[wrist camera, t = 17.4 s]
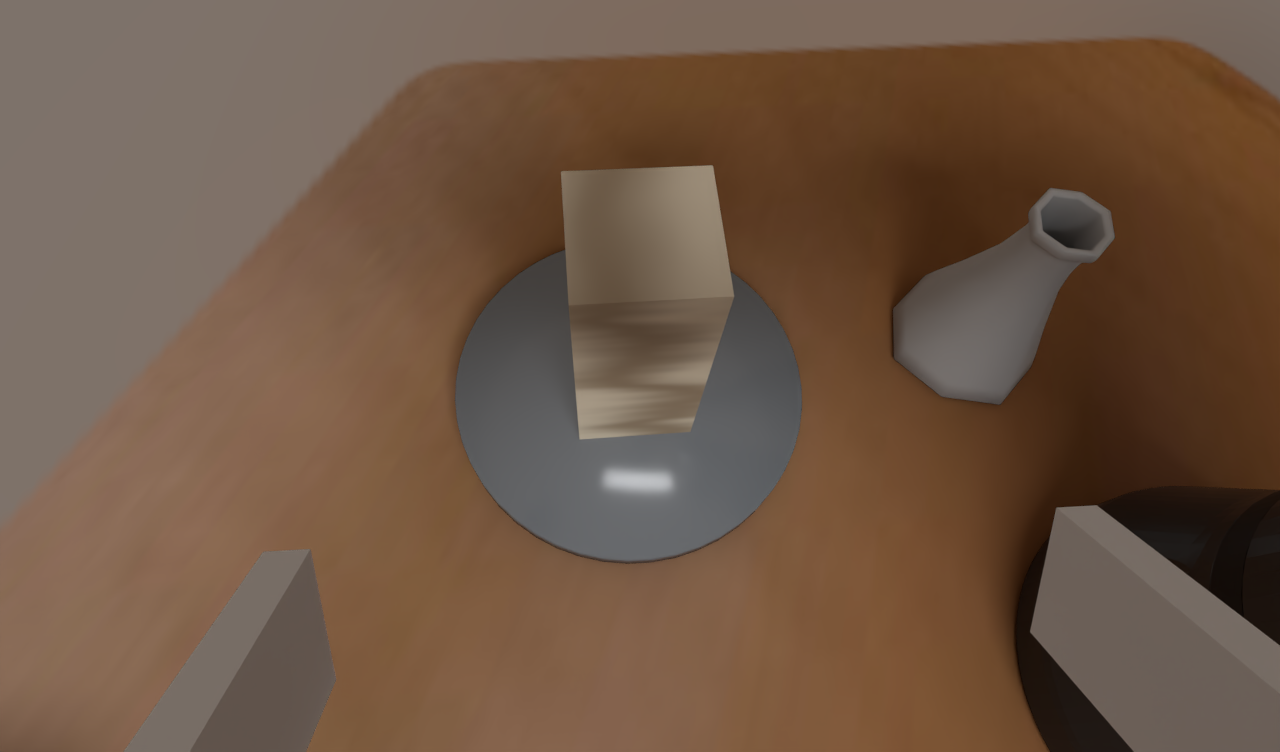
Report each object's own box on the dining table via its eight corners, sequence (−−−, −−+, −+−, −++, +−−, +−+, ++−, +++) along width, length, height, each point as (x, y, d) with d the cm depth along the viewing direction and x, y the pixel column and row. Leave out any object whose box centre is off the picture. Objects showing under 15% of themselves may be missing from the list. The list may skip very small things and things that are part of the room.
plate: (737, 228, 39) (741, 214, 38) (844, 514, 33) (852, 507, 32) (436, 285, 37) (431, 272, 36) (491, 605, 31) (487, 601, 30)
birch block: (677, 333, 35) (712, 165, 24) (690, 431, 33) (734, 296, 22) (573, 339, 35) (560, 171, 24) (579, 439, 33) (568, 305, 22)
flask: (911, 258, 39) (1005, 122, 30) (1043, 313, 38) (1182, 189, 29) (869, 368, 36) (959, 254, 27) (1011, 430, 35) (1153, 334, 26)
